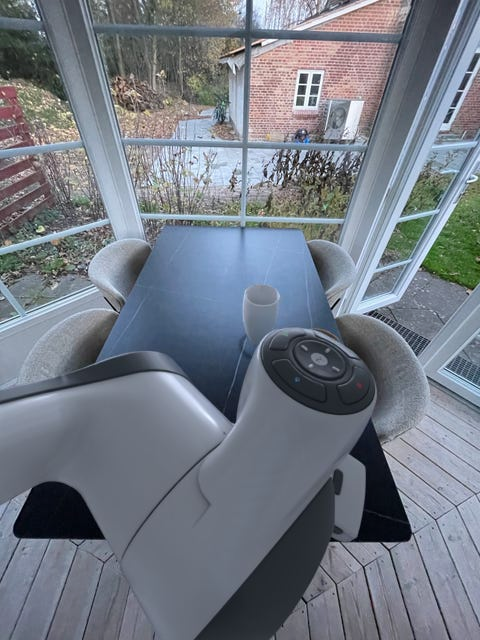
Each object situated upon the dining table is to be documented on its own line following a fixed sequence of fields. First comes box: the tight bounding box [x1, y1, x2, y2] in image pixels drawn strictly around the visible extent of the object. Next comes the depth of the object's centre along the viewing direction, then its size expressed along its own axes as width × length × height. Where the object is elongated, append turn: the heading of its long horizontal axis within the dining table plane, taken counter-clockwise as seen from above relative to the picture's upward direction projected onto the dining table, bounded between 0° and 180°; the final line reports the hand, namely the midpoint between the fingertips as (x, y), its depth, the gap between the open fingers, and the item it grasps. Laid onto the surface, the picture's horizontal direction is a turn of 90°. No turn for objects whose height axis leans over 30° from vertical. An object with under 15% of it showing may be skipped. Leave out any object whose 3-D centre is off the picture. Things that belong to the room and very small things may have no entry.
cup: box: [242, 283, 281, 347], centre depth 78 cm, size 10×10×22 cm
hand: (259, 490), depth 36 cm, fingers open, 8 cm apart
